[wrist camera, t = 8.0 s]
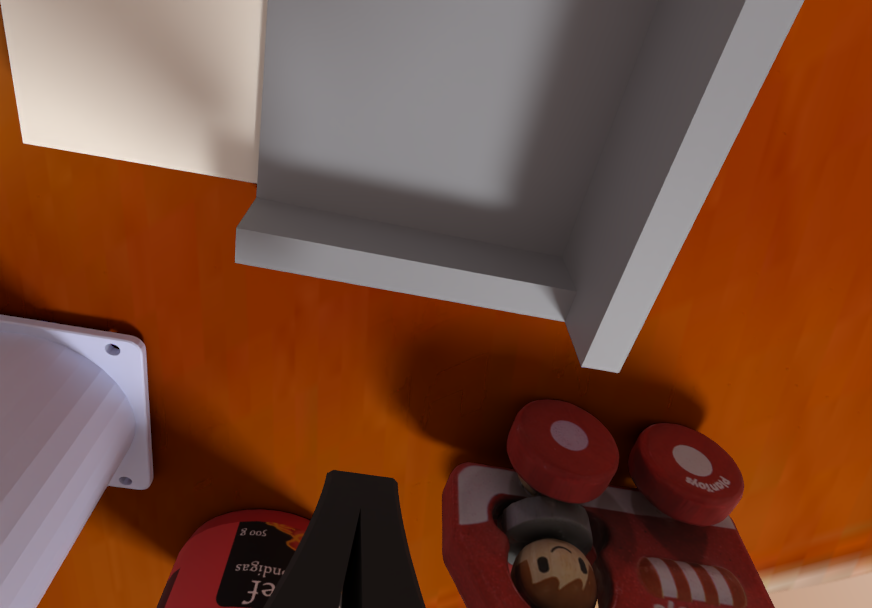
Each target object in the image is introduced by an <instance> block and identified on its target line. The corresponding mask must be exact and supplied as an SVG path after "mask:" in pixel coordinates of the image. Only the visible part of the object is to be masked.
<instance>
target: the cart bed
mask: <svg viewBox="0 0 872 608" xmlns="http://www.w3.org/2000/svg"><path fill="white" fill-rule="evenodd" d="M803 2H804V0H268V2H267V20H266V37H265V55H264V73H263V90H262V108H261V125H260V143H259V161H258V178H257V196H256V199H255V201H254V202H253V204H252V205H251V207H250V208H249V210H248V211H247V213H246V214H245V216H244V217H243V219H242V220H241V222H240V223H239V225H238V226H237V228H236V249H235V263H240V264H245V265H251V266H256V267H262V268H267V269H273V270H279V271H284V272H290V273H295V274H301V275H306V276H312V277H318V278H323V279H329V280H334V281H340V282H346V283H351V284H357V285H362V286H368V287H373V288H379V289H385V290H390V291H396V292H401V293H407V294H412V295H418V296H424V297H429V298H435V299H440V300H446V301H451V302H457V303H463V304H468V305H474V306H479V307H485V308H490V309H496V310H502V311H507V312H513V313H518V314H524V315H529V316H535V317H541V318H546V319H552V320H557V321H563V322H565V324H566V326H567V329H568V332H569V334H570V337H571V340H572V343H573V345H574V348H575V351H576V353H577V356H578V359H579V362H580V364H581V367H586V368H592V369H598V370H603V371H609V372H615V373H619V372H620V370H621V368H622V366H623V364H624V362H625V360H626V358H627V356H628V354H629V352H630V350H631V348H632V346H633V344H634V342H635V340H636V338H637V336H638V334H639V332H640V330H641V328H642V326H643V324H644V322H645V320H646V318H647V316H648V314H649V312H650V310H651V308H652V306H653V304H654V302H655V300H656V298H657V296H658V294H659V292H660V290H661V288H662V286H663V284H664V281H665V279H666V277H667V275H668V273H669V271H670V269H671V267H672V265H673V263H674V261H675V259H676V257H677V255H678V253H679V251H680V249H681V247H682V245H683V243H684V241H685V239H686V237H687V235H688V233H689V231H690V229H691V227H692V225H693V223H694V221H695V219H696V217H697V215H698V213H699V211H700V209H701V207H702V205H703V203H704V201H705V199H706V197H707V195H708V193H709V191H710V189H711V187H712V185H713V183H714V181H715V179H716V177H717V175H718V173H719V171H720V169H721V167H722V165H723V163H724V161H725V159H726V157H727V155H728V153H729V151H730V149H731V147H732V145H733V143H734V141H735V139H736V137H737V135H738V133H739V131H740V128H741V126H742V124H743V122H744V120H745V118H746V116H747V114H748V112H749V110H750V108H751V106H752V104H753V102H754V100H755V98H756V96H757V94H758V92H759V90H760V88H761V86H762V84H763V82H764V80H765V78H766V76H767V74H768V72H769V70H770V68H771V66H772V64H773V62H774V60H775V58H776V56H777V54H778V52H779V50H780V48H781V46H782V44H783V42H784V40H785V38H786V36H787V34H788V32H789V30H790V28H791V26H792V24H793V22H794V20H795V18H796V16H797V14H798V12H799V10H800V8H801V6H802V4H803Z"/></svg>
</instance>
